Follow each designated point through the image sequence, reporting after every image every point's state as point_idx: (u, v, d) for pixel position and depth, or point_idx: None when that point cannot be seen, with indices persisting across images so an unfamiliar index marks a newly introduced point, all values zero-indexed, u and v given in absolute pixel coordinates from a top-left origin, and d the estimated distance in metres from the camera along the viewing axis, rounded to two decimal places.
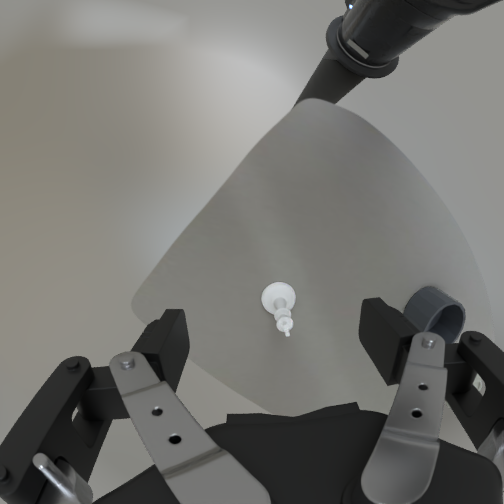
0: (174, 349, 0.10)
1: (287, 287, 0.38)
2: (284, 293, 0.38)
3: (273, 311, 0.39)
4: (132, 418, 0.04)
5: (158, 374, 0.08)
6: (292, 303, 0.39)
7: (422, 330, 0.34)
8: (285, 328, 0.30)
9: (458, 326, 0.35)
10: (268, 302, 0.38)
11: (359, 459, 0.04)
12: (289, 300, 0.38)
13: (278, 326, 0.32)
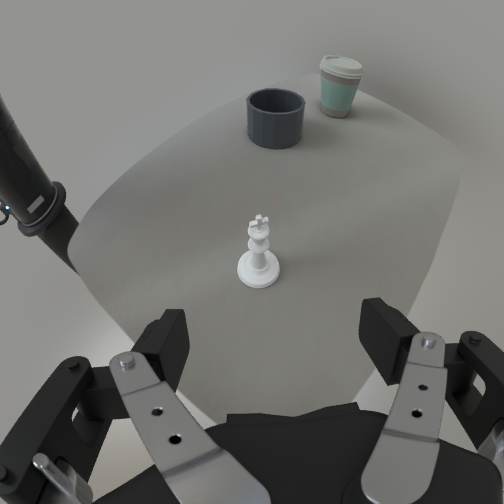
0: (174, 349, 0.10)
1: (241, 257, 0.32)
2: (248, 259, 0.32)
3: (273, 271, 0.31)
4: (132, 418, 0.04)
5: (158, 374, 0.08)
6: None
7: (277, 116, 0.38)
8: (255, 222, 0.24)
9: (276, 93, 0.42)
10: (261, 276, 0.31)
11: (359, 458, 0.04)
12: None
13: (260, 236, 0.25)
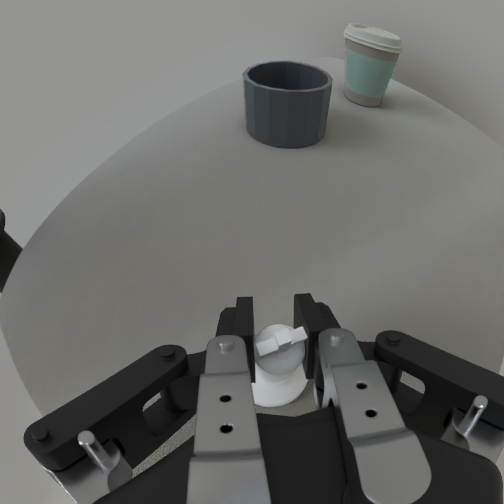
0: (253, 333, 0.11)
1: None
2: None
3: (300, 379, 0.16)
4: (199, 397, 0.05)
5: (248, 356, 0.09)
6: None
7: (292, 95, 0.22)
8: (273, 345, 0.09)
9: (286, 67, 0.27)
10: (277, 392, 0.15)
11: None
12: None
13: (285, 368, 0.09)
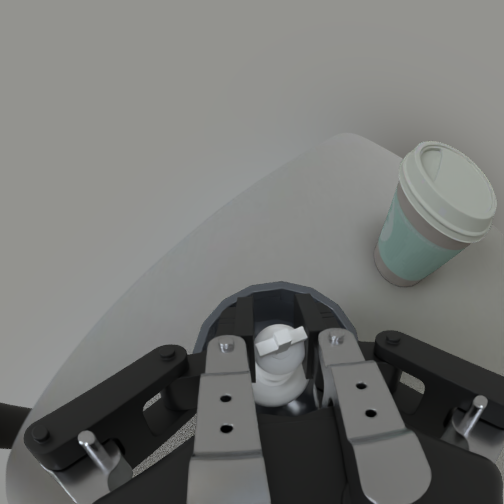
0: None
1: None
2: None
3: (301, 379, 0.15)
4: (199, 397, 0.05)
5: (249, 356, 0.09)
6: None
7: None
8: (273, 345, 0.09)
9: (281, 293, 0.17)
10: (278, 392, 0.15)
11: None
12: None
13: (285, 368, 0.09)
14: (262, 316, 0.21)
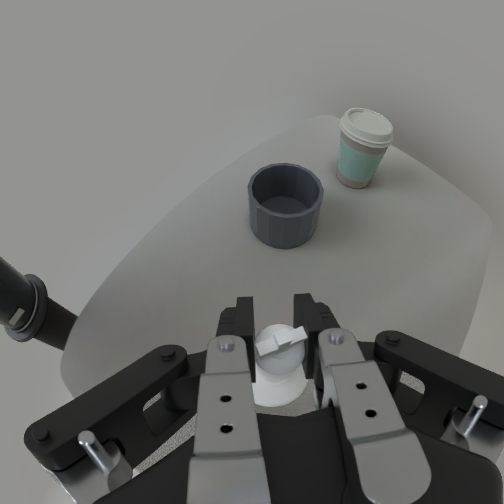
0: None
1: None
2: None
3: (301, 379, 0.15)
4: (199, 397, 0.05)
5: (248, 356, 0.09)
6: None
7: (288, 219, 0.32)
8: (273, 345, 0.09)
9: (285, 169, 0.37)
10: (278, 392, 0.15)
11: None
12: None
13: (285, 368, 0.09)
14: (276, 190, 0.40)
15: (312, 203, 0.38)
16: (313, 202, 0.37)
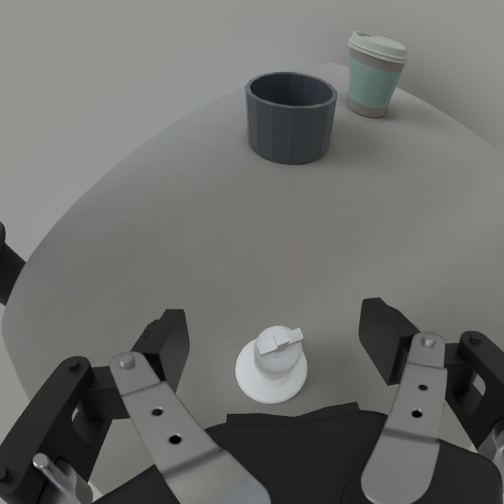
0: (174, 349, 0.10)
1: (242, 353, 0.18)
2: (253, 358, 0.17)
3: (298, 377, 0.16)
4: (132, 418, 0.04)
5: (158, 374, 0.08)
6: None
7: (296, 112, 0.22)
8: (272, 345, 0.10)
9: (290, 79, 0.27)
10: (276, 389, 0.16)
11: (359, 459, 0.04)
12: None
13: (283, 366, 0.10)
14: None
15: None
16: None
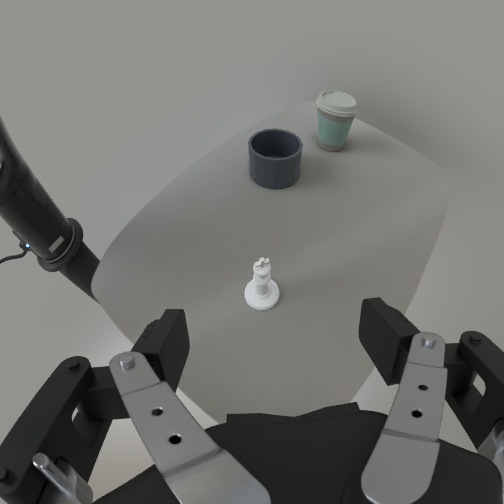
0: (174, 349, 0.10)
1: (247, 285, 0.39)
2: (253, 286, 0.38)
3: (274, 296, 0.38)
4: (132, 418, 0.04)
5: (158, 374, 0.08)
6: None
7: (276, 162, 0.43)
8: (259, 263, 0.31)
9: (275, 133, 0.48)
10: (264, 301, 0.37)
11: (359, 458, 0.04)
12: None
13: (263, 273, 0.31)
14: (269, 150, 0.52)
15: None
16: None
